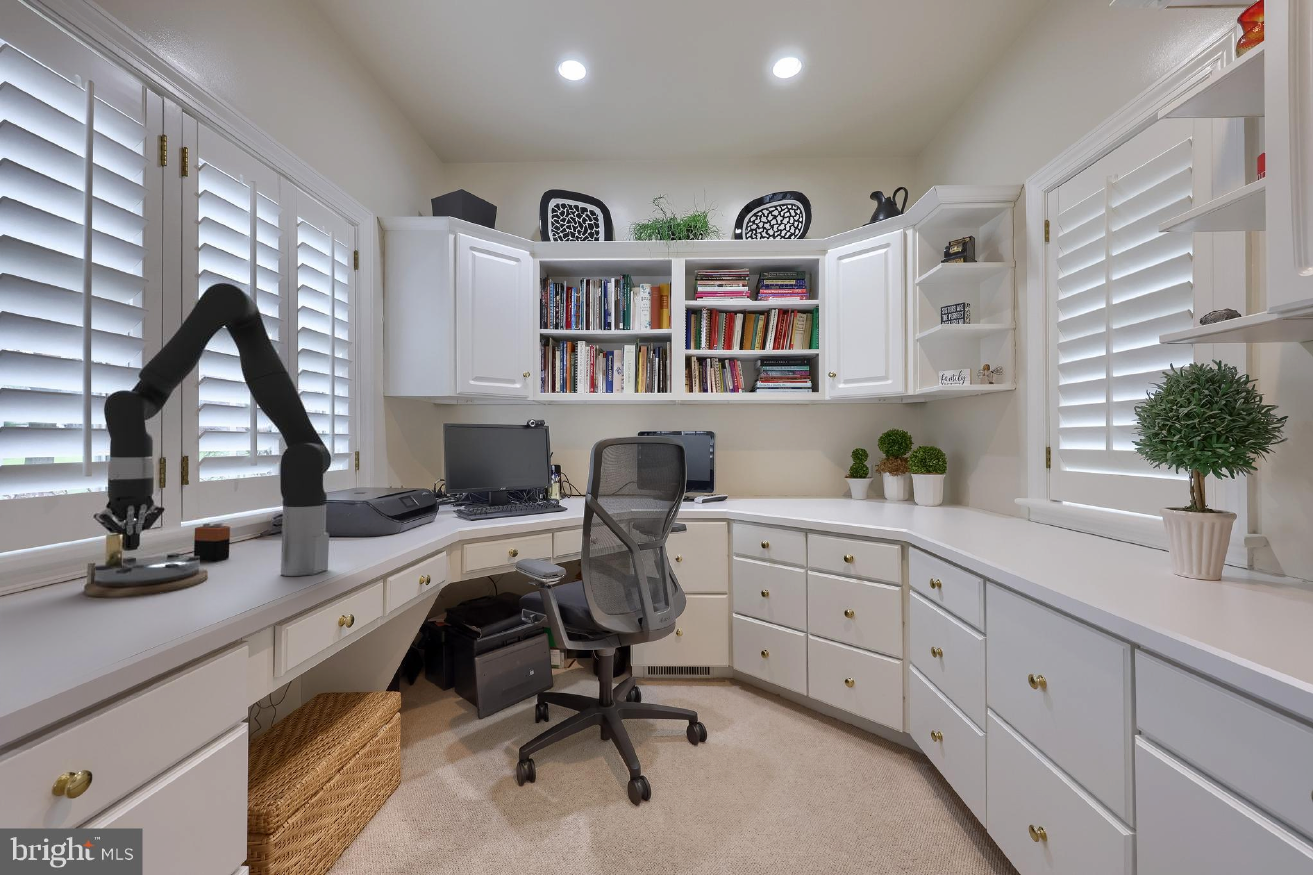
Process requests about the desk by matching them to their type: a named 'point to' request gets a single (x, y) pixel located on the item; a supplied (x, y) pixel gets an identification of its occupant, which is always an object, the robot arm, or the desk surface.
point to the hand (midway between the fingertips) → (130, 550)
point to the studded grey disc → (141, 567)
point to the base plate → (115, 592)
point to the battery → (212, 542)
